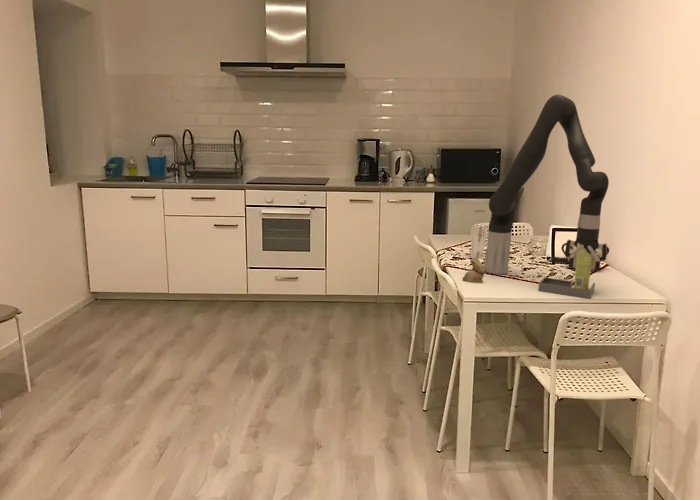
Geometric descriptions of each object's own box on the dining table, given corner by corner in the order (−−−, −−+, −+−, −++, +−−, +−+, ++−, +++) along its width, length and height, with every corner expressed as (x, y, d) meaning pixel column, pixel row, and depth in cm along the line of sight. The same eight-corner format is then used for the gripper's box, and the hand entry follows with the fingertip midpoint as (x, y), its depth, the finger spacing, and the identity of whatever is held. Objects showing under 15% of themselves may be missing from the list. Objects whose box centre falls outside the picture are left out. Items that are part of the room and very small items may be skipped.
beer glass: (469, 258, 272) (471, 226, 268) (468, 255, 278) (471, 223, 275) (484, 259, 270) (487, 226, 267) (484, 256, 277) (486, 224, 274)
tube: (581, 286, 229) (587, 236, 224) (592, 290, 224) (598, 239, 220) (570, 288, 226) (576, 237, 222) (581, 291, 222) (586, 240, 218)
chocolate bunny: (478, 284, 230) (480, 259, 227) (461, 280, 235) (462, 255, 233) (486, 281, 234) (488, 257, 231) (468, 277, 239) (470, 253, 237)
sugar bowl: (601, 265, 265) (605, 232, 262) (612, 274, 251) (616, 238, 248) (555, 263, 268) (559, 230, 264) (563, 271, 253) (567, 236, 250)
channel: (538, 290, 223) (539, 282, 223) (544, 283, 234) (545, 276, 233) (589, 298, 215) (590, 290, 214) (594, 290, 225) (595, 283, 224)
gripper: (610, 227, 220) (605, 270, 223) (570, 222, 226) (565, 264, 230) (608, 230, 213) (602, 274, 217) (566, 225, 220) (561, 268, 224)
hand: (583, 269), depth 223 cm, fingers open, 8 cm apart
